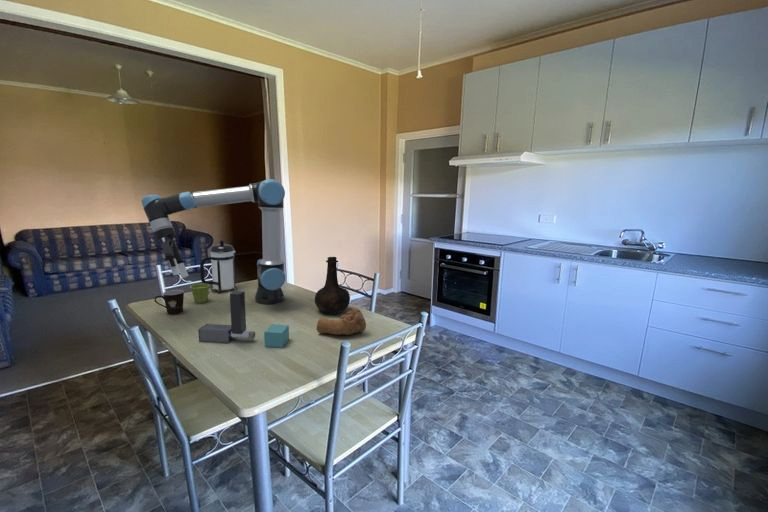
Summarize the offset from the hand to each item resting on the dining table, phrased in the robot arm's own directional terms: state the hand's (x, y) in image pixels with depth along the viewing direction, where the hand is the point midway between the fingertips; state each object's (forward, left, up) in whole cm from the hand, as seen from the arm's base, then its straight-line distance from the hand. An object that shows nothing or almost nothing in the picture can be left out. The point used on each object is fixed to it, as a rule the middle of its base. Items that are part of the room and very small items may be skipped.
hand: (181, 275), depth 148 cm
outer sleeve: (-7, +24, -22) cm, 33 cm away
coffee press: (-29, -44, -22) cm, 57 cm away
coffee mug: (+1, -21, -22) cm, 31 cm away
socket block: (-24, +41, -22) cm, 53 cm away
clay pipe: (-51, +49, -23) cm, 74 cm away
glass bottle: (-62, +23, -22) cm, 70 cm away
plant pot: (-14, -30, -22) cm, 40 cm away
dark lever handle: (-10, +28, -21) cm, 37 cm away
